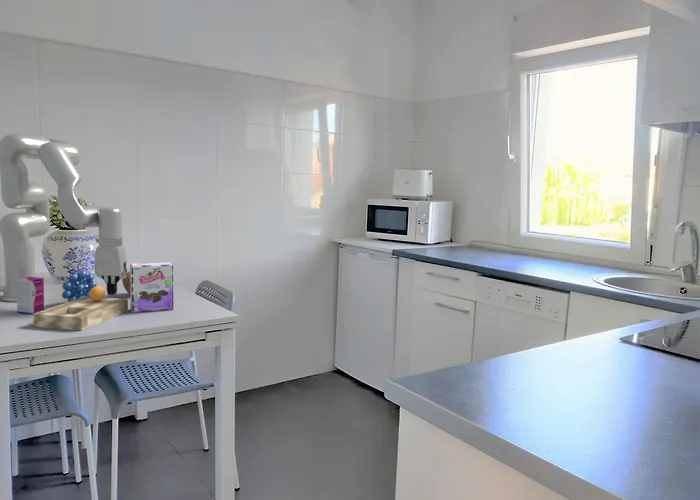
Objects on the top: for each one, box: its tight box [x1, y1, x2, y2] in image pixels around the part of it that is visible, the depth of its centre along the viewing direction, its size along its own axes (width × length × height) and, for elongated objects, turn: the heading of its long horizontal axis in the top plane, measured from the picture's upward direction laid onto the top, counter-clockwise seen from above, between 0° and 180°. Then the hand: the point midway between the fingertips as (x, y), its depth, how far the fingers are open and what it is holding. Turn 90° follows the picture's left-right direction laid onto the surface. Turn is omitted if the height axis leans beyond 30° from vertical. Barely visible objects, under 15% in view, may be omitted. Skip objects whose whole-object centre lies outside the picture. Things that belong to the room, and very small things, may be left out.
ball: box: [89, 285, 106, 301], centre depth 179 cm, size 5×5×5 cm
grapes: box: [61, 270, 97, 302], centre depth 190 cm, size 12×7×12 cm, turn 134°
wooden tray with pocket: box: [32, 296, 129, 331], centre depth 172 cm, size 16×25×4 cm, turn 172°
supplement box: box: [16, 276, 45, 315], centre depth 177 cm, size 6×6×12 cm
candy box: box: [129, 261, 174, 314], centre depth 185 cm, size 14×6×16 cm, turn 117°
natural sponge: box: [121, 270, 130, 295], centre depth 206 cm, size 9×9×10 cm
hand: (112, 294), depth 187 cm, fingers closed
